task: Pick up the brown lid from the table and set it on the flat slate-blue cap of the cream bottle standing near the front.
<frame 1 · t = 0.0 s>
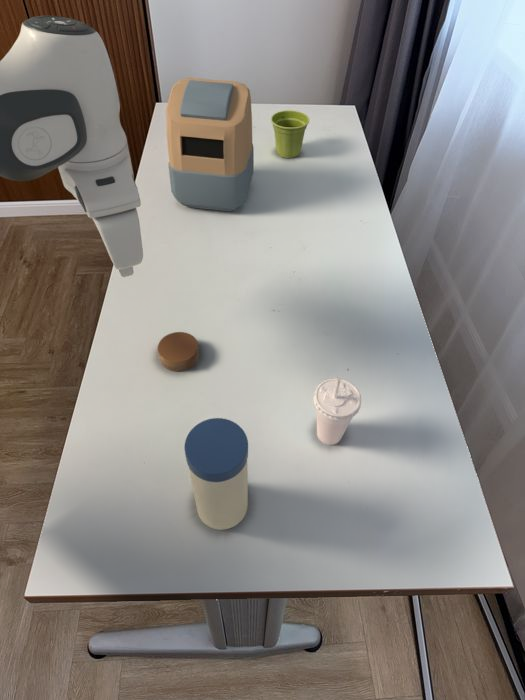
hand: (117, 253, 74), 18 cm above the table, tool pointing down, fingers open, 8 cm apart
brown lid: (179, 355, 84), on the table
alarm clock: (214, 194, 116), on the table
plant pot: (288, 153, 128), on the table
bottle: (222, 504, 67), on the table
smoothie: (329, 434, 75), on the table
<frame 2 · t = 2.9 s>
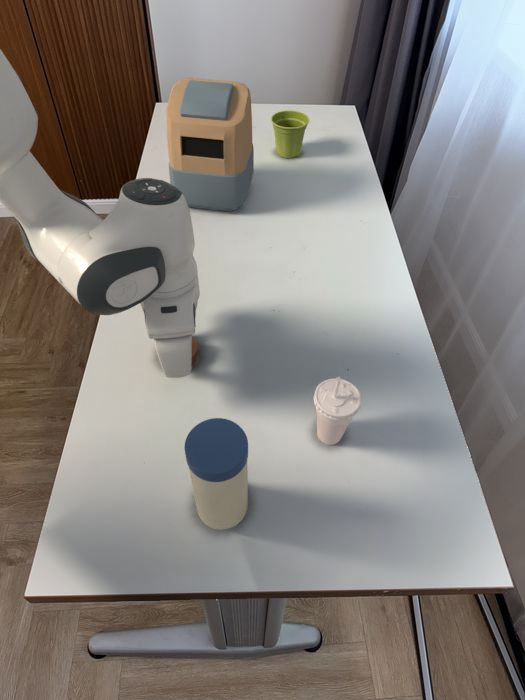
hand: (178, 349, 83), 2 cm above the table, tool pointing down, fingers closed on brown lid, 6 cm apart
brown lid: (179, 356, 84), on the table, touching gripper
everything else where it was.
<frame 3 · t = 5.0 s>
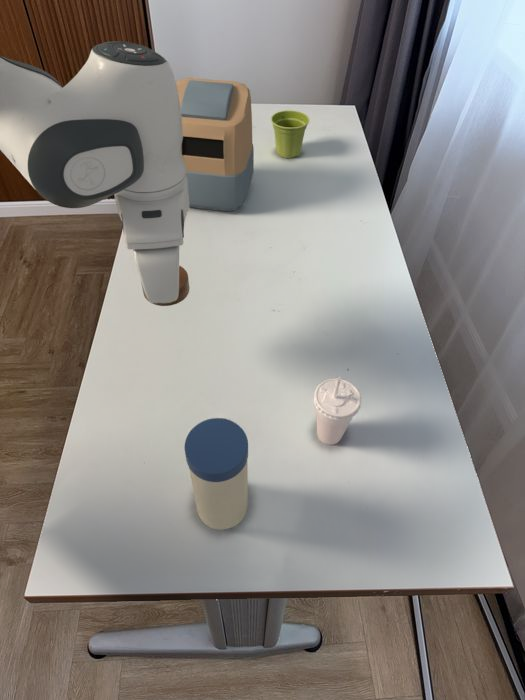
hand: (165, 280, 71), 17 cm above the table, tool pointing down, fingers closed on brown lid, 6 cm apart
brown lid: (166, 290, 73), point 15 cm above the table, touching gripper
everything else where it was.
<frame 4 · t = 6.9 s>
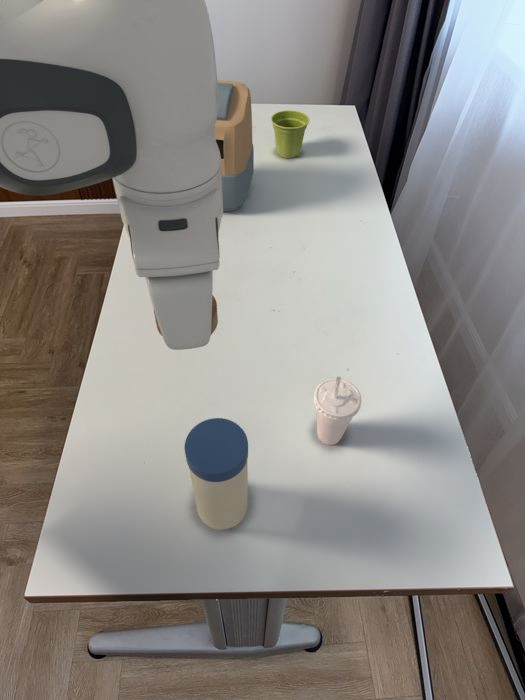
hand: (185, 310, 53), 27 cm above the table, tool pointing down, fingers closed on brown lid, 6 cm apart
brown lid: (187, 321, 55), point 25 cm above the table, touching gripper
everything else where it was.
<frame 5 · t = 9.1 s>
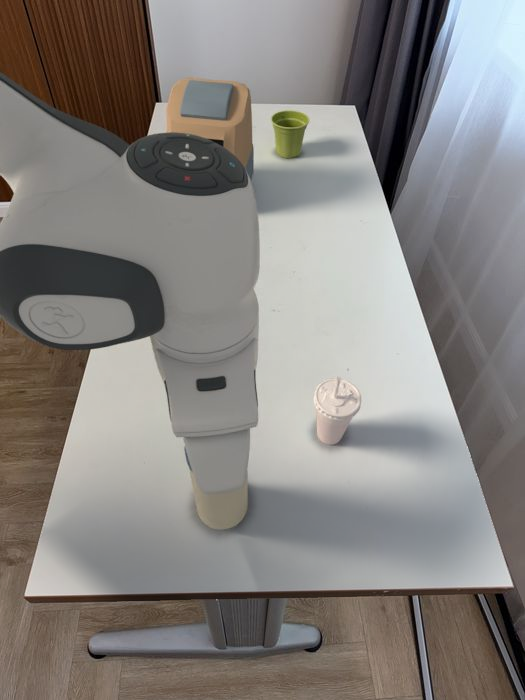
hand: (214, 425, 52), 20 cm above the table, tool pointing down, fingers closed on brown lid, 6 cm apart
brown lid: (215, 433, 54), point 18 cm above the table, touching gripper
everything else where it was.
when the fingers open (18 cm above the table, at t = 10.8 s): brown lid stays where it is, resting on bottle.
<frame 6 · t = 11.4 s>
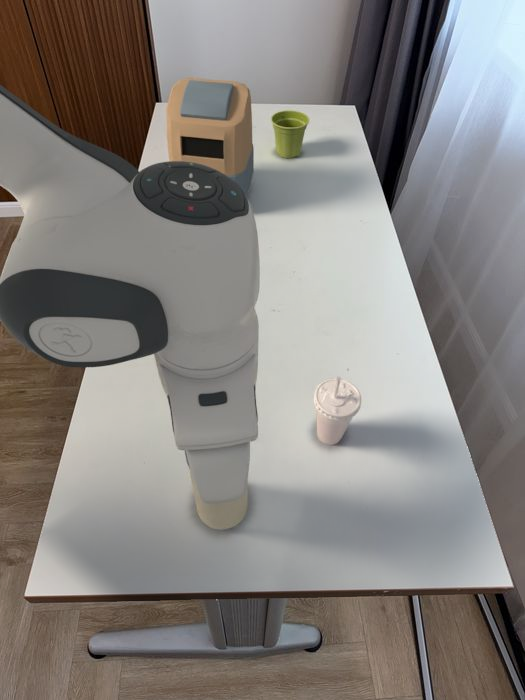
hand: (215, 434, 54), 18 cm above the table, tool pointing down, fingers open, 8 cm apart
brown lid: (216, 444, 55), point 16 cm above the table, touching bottle
everything else where it was.
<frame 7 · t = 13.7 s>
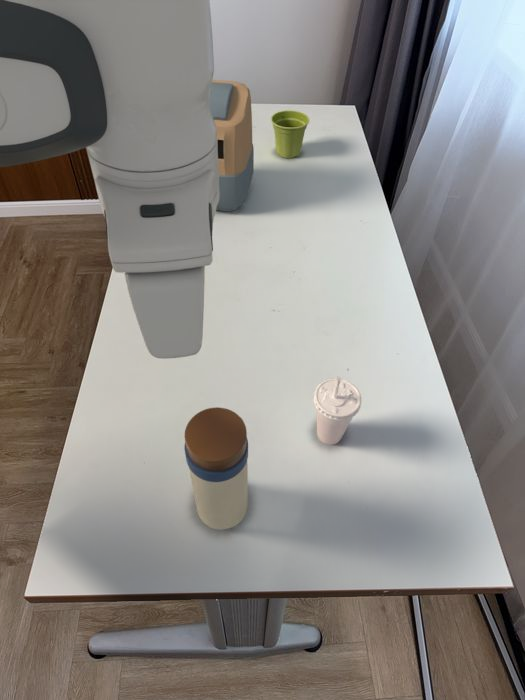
hand: (177, 312, 47), 31 cm above the table, tool pointing down, fingers open, 8 cm apart
nothing on the table moved.
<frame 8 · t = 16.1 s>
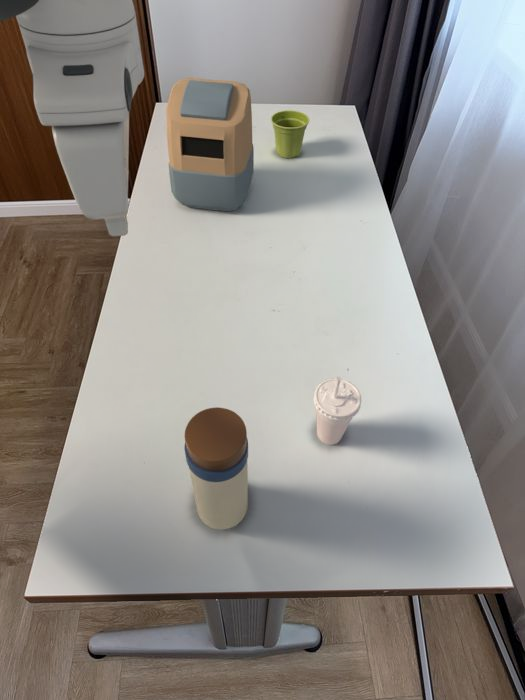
hand: (120, 203, 52), 35 cm above the table, tool pointing down, fingers open, 8 cm apart
nothing on the table moved.
at the end: brown lid point 16.0 cm above the table; brown lid 0.1 cm from the bottle (horizontally); brown lid tilted 0° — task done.
